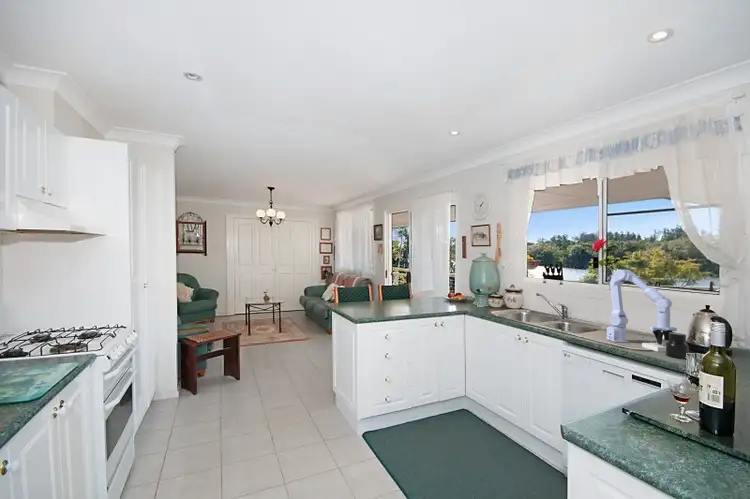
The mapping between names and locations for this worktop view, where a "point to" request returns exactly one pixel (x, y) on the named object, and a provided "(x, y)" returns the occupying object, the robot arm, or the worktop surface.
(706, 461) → the worktop surface
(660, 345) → the plug
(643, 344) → the socket plate
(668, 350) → the ink bottle
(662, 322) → the robot arm
